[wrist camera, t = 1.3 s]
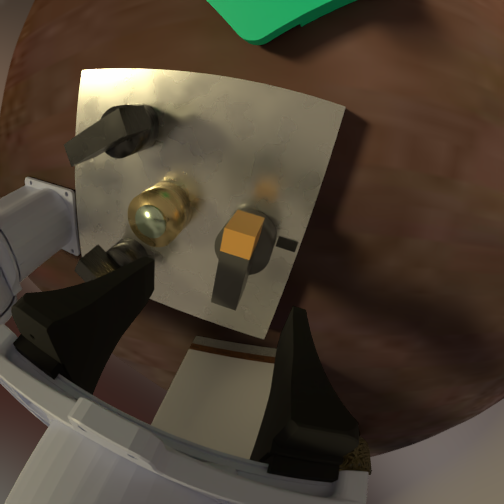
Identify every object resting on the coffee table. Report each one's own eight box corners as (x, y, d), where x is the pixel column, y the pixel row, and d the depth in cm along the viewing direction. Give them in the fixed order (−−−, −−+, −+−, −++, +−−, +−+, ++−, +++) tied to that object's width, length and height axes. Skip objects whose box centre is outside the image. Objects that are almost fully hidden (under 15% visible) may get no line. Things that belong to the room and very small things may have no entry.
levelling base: (94, 260, 28) (54, 296, 22) (97, 69, 18) (35, 73, 12) (267, 324, 27) (251, 383, 21) (342, 106, 16) (356, 107, 10)
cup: (354, 415, 32) (352, 466, 26) (381, 429, 34) (380, 474, 27) (315, 429, 36) (308, 475, 29) (343, 442, 37) (339, 483, 31)
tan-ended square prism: (266, 270, 21) (251, 316, 17) (220, 256, 21) (195, 297, 17) (286, 207, 18) (274, 243, 14) (233, 192, 19) (206, 222, 14)
